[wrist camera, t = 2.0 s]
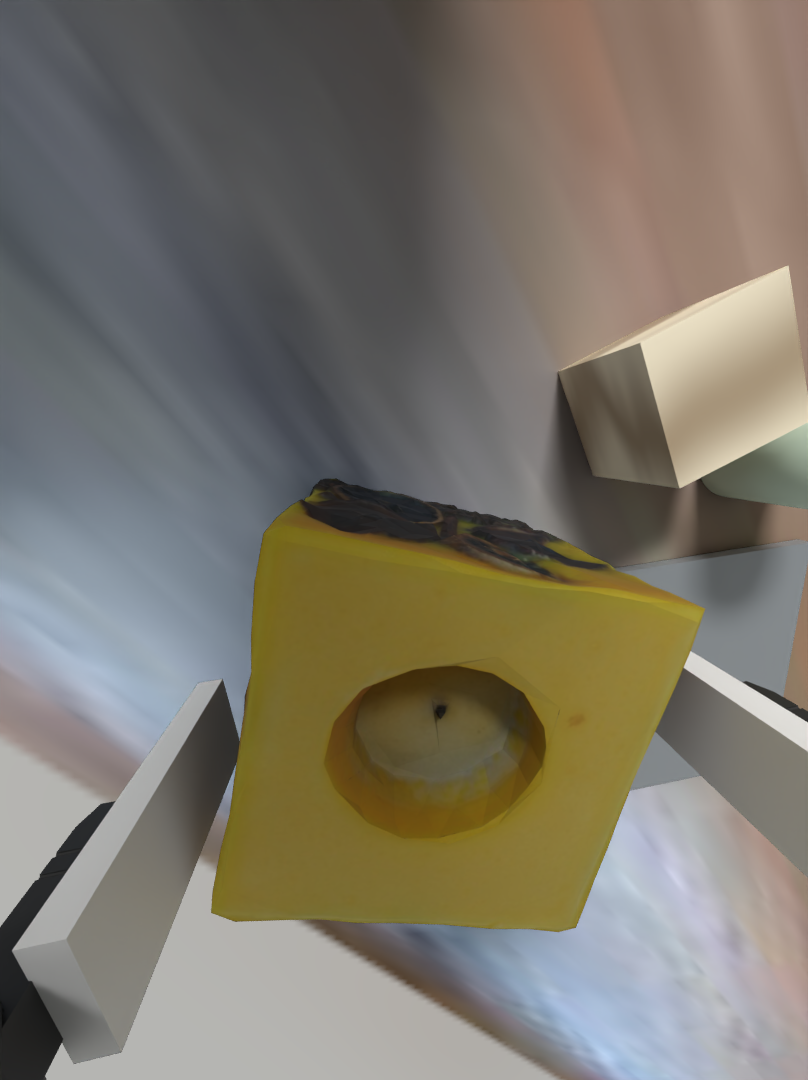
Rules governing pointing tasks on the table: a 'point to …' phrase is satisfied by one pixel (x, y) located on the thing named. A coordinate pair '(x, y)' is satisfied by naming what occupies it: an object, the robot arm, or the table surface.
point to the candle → (438, 716)
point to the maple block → (693, 387)
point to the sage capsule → (767, 473)
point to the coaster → (731, 623)
